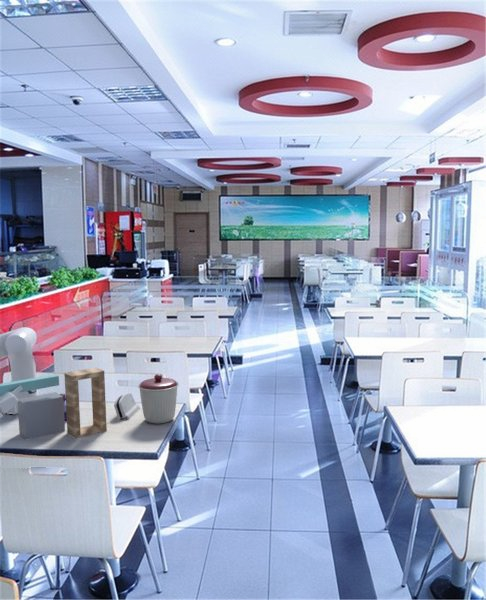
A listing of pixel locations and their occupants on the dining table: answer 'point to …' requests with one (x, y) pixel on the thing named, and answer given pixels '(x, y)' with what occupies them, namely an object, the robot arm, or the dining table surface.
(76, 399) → the stand
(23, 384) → the teal bar
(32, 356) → the robot arm
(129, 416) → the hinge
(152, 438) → the dining table surface
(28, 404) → the low step
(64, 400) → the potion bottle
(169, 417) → the canister
